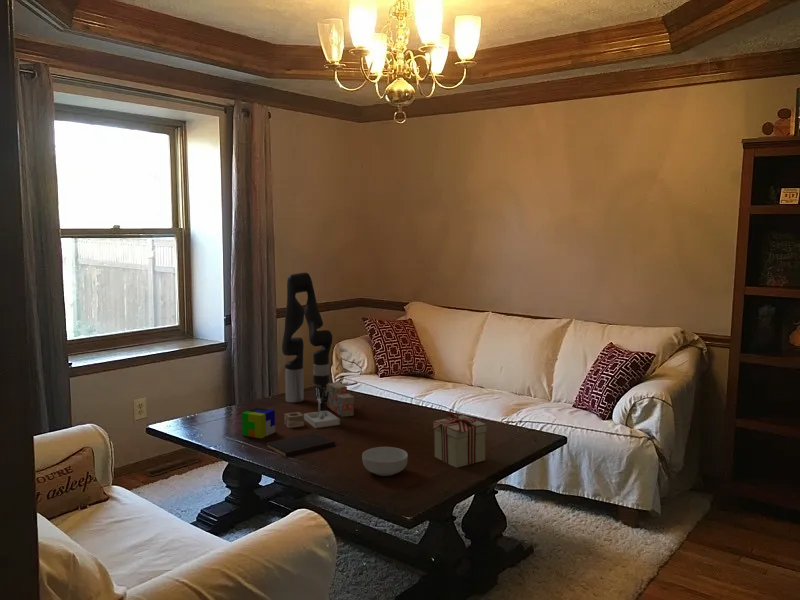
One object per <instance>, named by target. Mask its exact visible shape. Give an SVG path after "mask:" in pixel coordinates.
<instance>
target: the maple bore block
mask: <svg viewBox="0 0 800 600" xmlns="http://www.w3.org/2000/svg"><path fill="white" fill-rule="evenodd" d="M283 415H284V416H283V417H284V419H283V420H284V423H283V424H284V425H285V426H286V427H288V429H291V428H299V427H304V426H305V420H304V414H303V413H301V411H295V412H288V413H283Z"/></svg>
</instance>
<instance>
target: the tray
mask: <svg viewBox="0 0 800 600" xmlns="http://www.w3.org/2000/svg"><path fill="white" fill-rule="evenodd" d="M303 415H304V421H306V422H307V424H308V423H309V425H311V426H312V427H313V428H314V429H317V428H325V427H333V426H339V425H341V419H340V418H339V417H338V416H336V415H334V414H333V413H332V412H330V411H328V410H325V411H324V419H319V411H314V412H306V413H303Z"/></svg>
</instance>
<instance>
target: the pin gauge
mask: <svg viewBox="0 0 800 600" xmlns="http://www.w3.org/2000/svg"><path fill="white" fill-rule="evenodd" d="M318 405H319V409H318V412H319V419H324V411H320V398H319V393H318V401H317V406H318Z"/></svg>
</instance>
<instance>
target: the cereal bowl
mask: <svg viewBox="0 0 800 600" xmlns="http://www.w3.org/2000/svg"><path fill="white" fill-rule="evenodd" d="M361 454H362V455H361V459H362V464H363V466H364V468H365V469H366V470H367V471H368V472H370V473H373V474H375V475H377V476H380V477H390V476H393V475H395V474H398V473H400V472H401V471H403V470H404V469H405V468H406V466H407V465H408V461H409V454H408V451H406V450H405V449H401V448H398V447H394V446H378V447H377V446H376V447H371V448H369V449H365V451H363V452H362V453H361Z"/></svg>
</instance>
